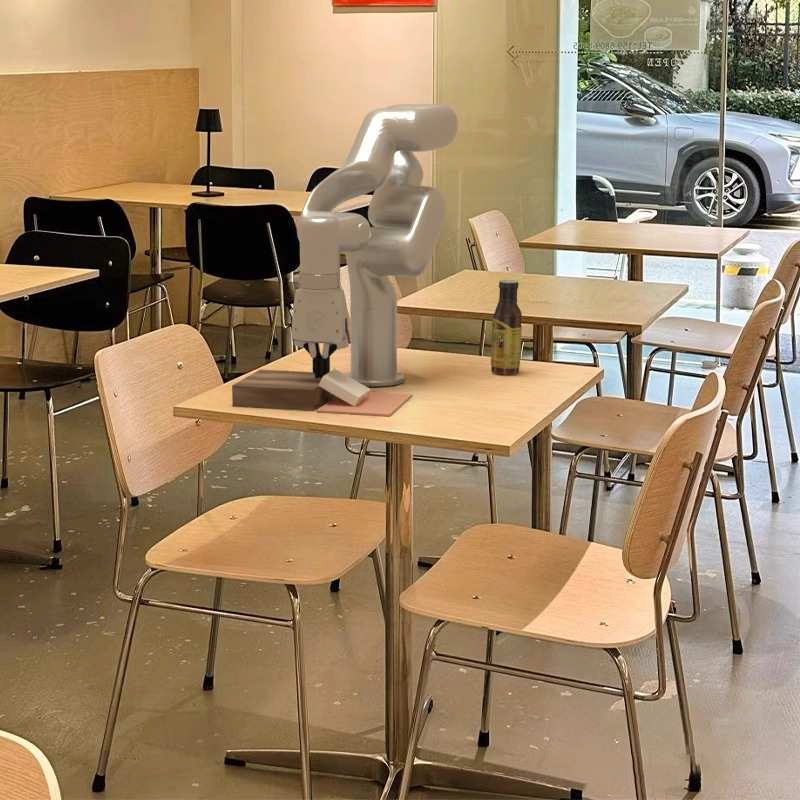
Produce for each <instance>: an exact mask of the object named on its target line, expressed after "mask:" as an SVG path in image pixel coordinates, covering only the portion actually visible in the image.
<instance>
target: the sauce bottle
mask: <svg viewBox="0 0 800 800" xmlns="http://www.w3.org/2000/svg"><path fill="white" fill-rule="evenodd" d="M498 288H499V292H498V293H499V297H498V302H497V306H496V308H495V310H494V313H493V316H492V320H491V321H492V323H491V324H492V325H491V342H490V343H491V344H490V345H491V351H490V366H491V368H490V369H491V370H490V371H491V373H492V374H495V375H498V376H515V375H518V374H519V373H520V366H521V352H522V351H521V349H522V331H523V329H522V318H523V317H522V316H523V315H522V311H521V309H520V307H519V305H518V288H519V281H518V280H514V279H501V280H499V283H498Z"/></svg>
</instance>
